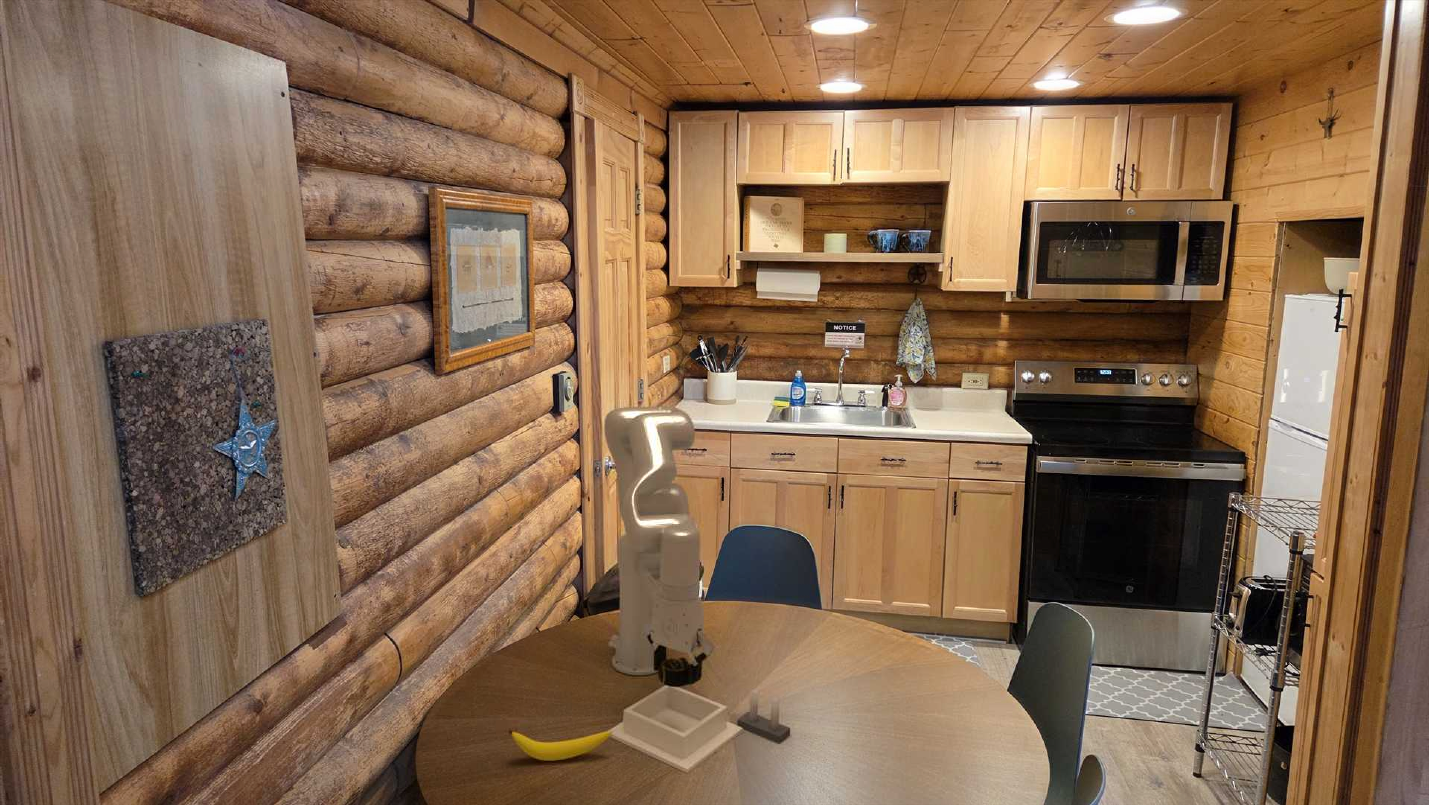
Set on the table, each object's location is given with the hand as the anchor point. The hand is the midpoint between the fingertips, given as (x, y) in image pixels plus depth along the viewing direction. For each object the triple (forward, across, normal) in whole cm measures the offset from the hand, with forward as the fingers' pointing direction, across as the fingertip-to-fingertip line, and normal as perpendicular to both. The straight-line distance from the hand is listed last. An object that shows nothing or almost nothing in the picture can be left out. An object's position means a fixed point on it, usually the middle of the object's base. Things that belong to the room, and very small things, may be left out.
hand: (677, 674), depth 164 cm
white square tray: (+12, 0, 0) cm, 12 cm away
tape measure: (+2, 0, +1) cm, 2 cm away
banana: (+13, -11, -20) cm, 26 cm away
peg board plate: (+13, +13, +12) cm, 22 cm away
